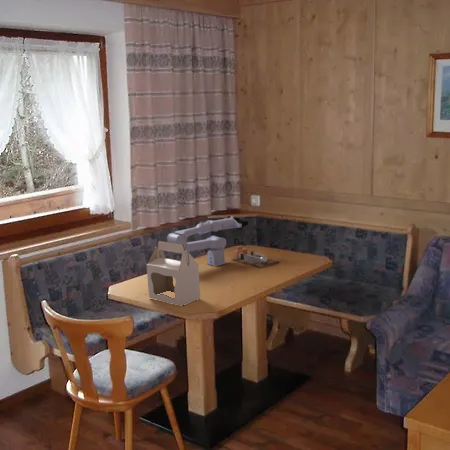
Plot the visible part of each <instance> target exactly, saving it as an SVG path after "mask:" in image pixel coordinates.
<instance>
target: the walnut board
mask: <svg viewBox="0 0 450 450" xmlns="http://www.w3.org/2000/svg"><path fill="white" fill-rule="evenodd" d="M247 255H251V253H250V254H249V253H247ZM231 261H233V262H235V263H236V262H237V263H240V264H244V265H248V266H252V267H255V268H259V269H263V268H266V267H269V266H272V265H277V264H279V263H280V260H277V259H272V258H268V257H267V264H258V263H254V262H250V261H246V260H242V259H241V255H240V256H239V259H235V258H234V257H232V258H231Z"/></svg>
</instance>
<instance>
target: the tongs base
mask: <svg viewBox="0 0 450 450" xmlns="http://www.w3.org/2000/svg"><path fill="white" fill-rule="evenodd" d="M239 254H240V256H241V259H242V260H246V261H250V262H254V263H258V264H267V258H268V256H265V255H263V256H262V257H256V256H251V255H248V253H247V254H243V252H241V253H239Z"/></svg>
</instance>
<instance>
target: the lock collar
mask: <svg viewBox="0 0 450 450" xmlns="http://www.w3.org/2000/svg"><path fill="white" fill-rule="evenodd" d="M241 253H243V254H247V255H248V248H245V247H244V248H243V245H238V246H235V250H233V258H235V259H239V257H240V256H239V254H241Z"/></svg>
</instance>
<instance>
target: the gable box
mask: <svg viewBox="0 0 450 450" xmlns="http://www.w3.org/2000/svg"><path fill="white" fill-rule="evenodd" d="M185 248H186V246H184V245H183V244H178V243H171V242H167V241H165V240H158V245H157V246H155V247H154V250H153V252H152V253H151V256H150V257H149V259H148V261H147V262H146V272H147V275H146V276H147V289H148V298H149V297H150V298H153V299H157V300H161V301H164V302H168V303H173V304H177V305H184V304H187V303H189V302H192V301H194V300H197V299H200V300H201V287H200V285H201V284H200V273H199V272H200V271H199V264H198V262H197V261H196V260H195V258H194V257H193V255H191V253H190V252H188V251H185ZM164 252H169V253H174V254H180V255H181V257H180V260H178V259H172V258H167V257H166V256H165V253H164ZM174 279H175V284H174ZM166 291H171V292H174V293H175V298H171V297H169V296H167V295H164V294H160V293H163V292H166ZM157 294H160V295H157ZM197 301H198V300H197ZM192 303H193V302H192ZM187 305H188V304H187Z"/></svg>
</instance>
